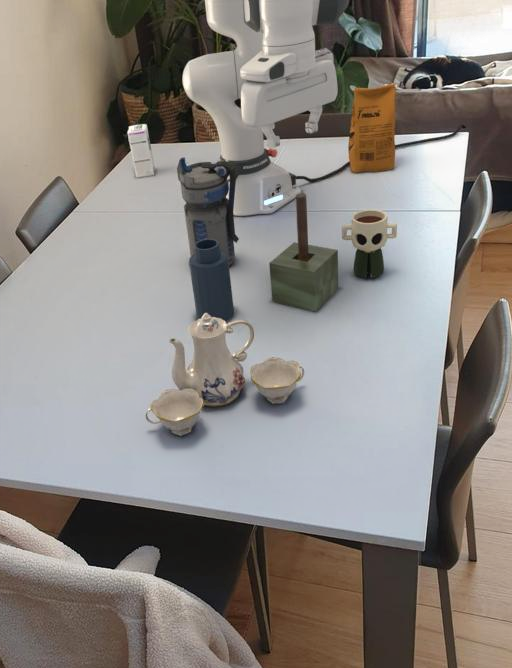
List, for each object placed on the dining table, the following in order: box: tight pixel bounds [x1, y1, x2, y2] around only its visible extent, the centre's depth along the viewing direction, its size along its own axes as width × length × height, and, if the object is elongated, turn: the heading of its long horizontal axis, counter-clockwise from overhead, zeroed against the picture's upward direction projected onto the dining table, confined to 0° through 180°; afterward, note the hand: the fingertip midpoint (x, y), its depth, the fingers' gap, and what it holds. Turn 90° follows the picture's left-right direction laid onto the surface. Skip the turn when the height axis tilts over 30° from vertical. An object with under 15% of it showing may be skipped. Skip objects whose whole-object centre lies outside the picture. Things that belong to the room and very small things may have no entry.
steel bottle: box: [188, 239, 235, 323], centre depth 143 cm, size 8×8×16 cm
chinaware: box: [145, 313, 305, 437], centre depth 118 cm, size 28×17×17 cm, turn 114°
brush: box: [295, 192, 309, 262], centre depth 142 cm, size 2×2×22 cm
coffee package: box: [347, 83, 397, 174], centre depth 194 cm, size 10×12×22 cm
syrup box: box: [126, 123, 156, 178], centre depth 218 cm, size 6×6×14 cm
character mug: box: [341, 208, 398, 279], centre depth 148 cm, size 11×7×13 cm, turn 78°
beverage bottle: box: [176, 156, 240, 267], centre depth 158 cm, size 10×13×25 cm
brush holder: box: [268, 241, 339, 313], centre depth 146 cm, size 10×10×9 cm
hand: (293, 139), depth 130 cm, fingers open, 8 cm apart
